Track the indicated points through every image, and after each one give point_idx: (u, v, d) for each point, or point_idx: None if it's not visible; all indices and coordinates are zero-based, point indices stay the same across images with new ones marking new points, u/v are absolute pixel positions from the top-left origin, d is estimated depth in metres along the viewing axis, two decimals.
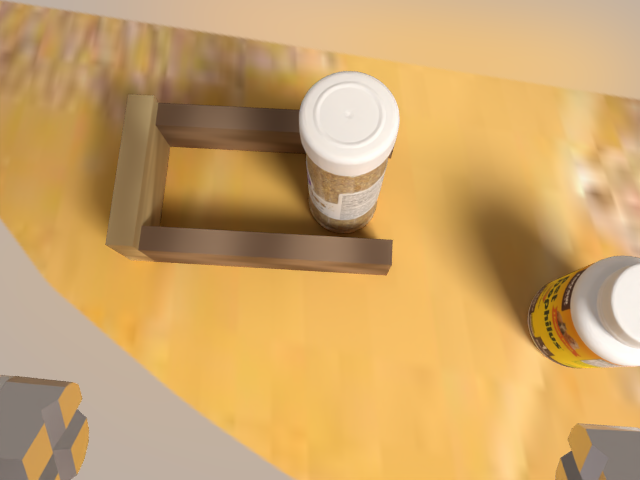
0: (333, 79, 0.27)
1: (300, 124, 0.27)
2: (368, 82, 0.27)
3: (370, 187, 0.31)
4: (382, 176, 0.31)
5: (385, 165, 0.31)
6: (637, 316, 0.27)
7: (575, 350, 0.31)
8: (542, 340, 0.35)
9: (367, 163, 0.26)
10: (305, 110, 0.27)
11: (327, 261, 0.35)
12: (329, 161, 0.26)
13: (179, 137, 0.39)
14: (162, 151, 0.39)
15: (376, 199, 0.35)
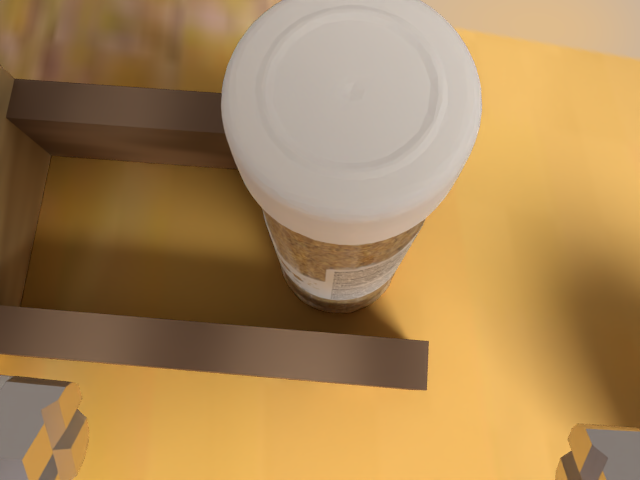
0: (313, 0, 0.10)
1: (223, 113, 0.10)
2: (403, 9, 0.10)
3: (394, 255, 0.14)
4: None
5: None
6: None
7: None
8: None
9: (396, 219, 0.10)
10: (237, 77, 0.10)
11: None
12: (297, 212, 0.10)
13: (58, 140, 0.22)
14: (28, 164, 0.23)
15: None
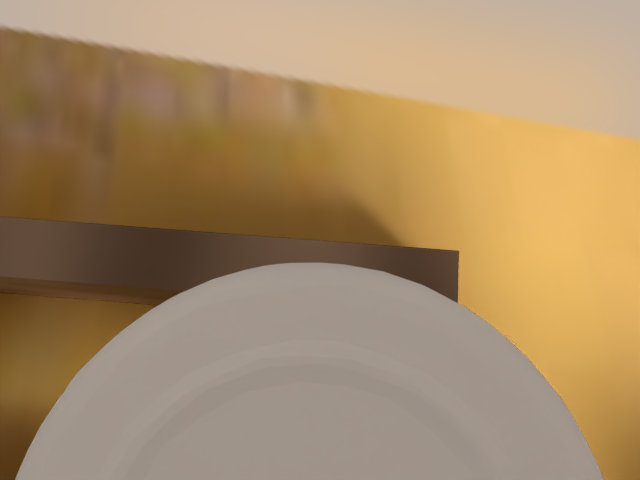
0: (218, 324, 0.04)
1: None
2: (434, 351, 0.04)
3: None
4: None
5: None
6: None
7: None
8: None
9: None
10: None
11: None
12: None
13: None
14: None
15: None
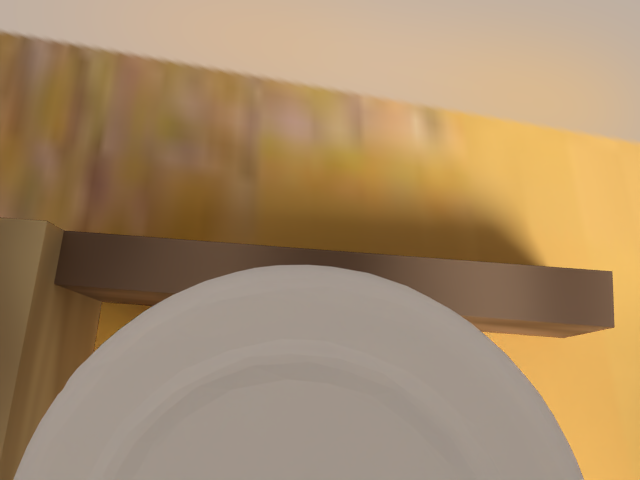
0: (208, 324, 0.05)
1: None
2: (415, 350, 0.04)
3: None
4: None
5: None
6: None
7: None
8: None
9: None
10: None
11: None
12: None
13: (116, 296, 0.18)
14: (78, 326, 0.18)
15: None
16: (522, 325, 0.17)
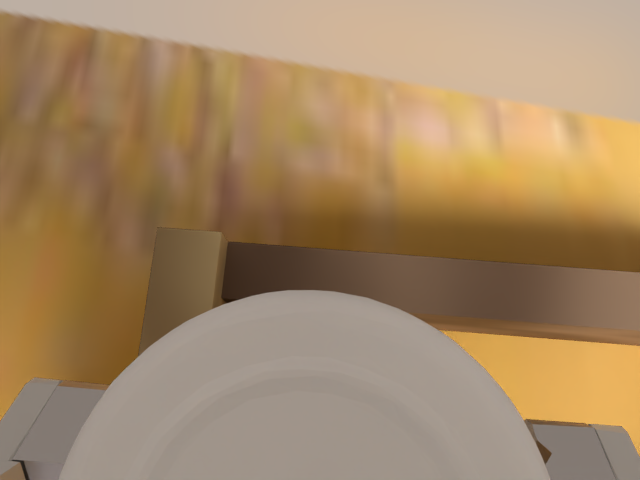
0: (229, 343, 0.05)
1: None
2: (407, 366, 0.05)
3: None
4: None
5: None
6: None
7: None
8: None
9: None
10: None
11: None
12: None
13: None
14: None
15: None
16: None
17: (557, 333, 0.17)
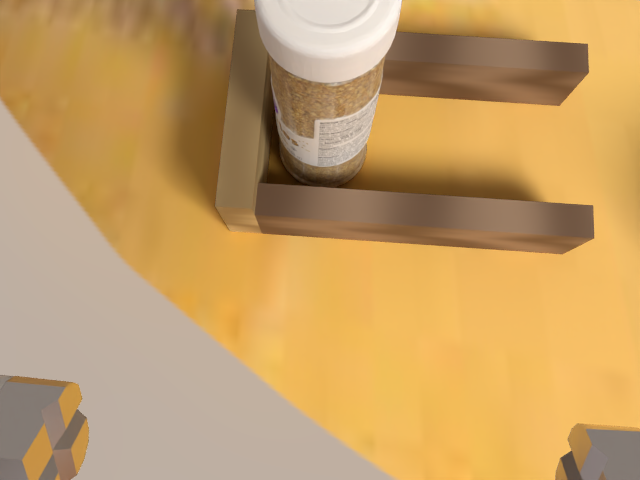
0: None
1: None
2: None
3: (358, 111, 0.22)
4: (375, 98, 0.23)
5: (379, 81, 0.22)
6: None
7: None
8: None
9: (354, 58, 0.18)
10: None
11: (507, 232, 0.26)
12: (298, 53, 0.18)
13: None
14: None
15: (366, 139, 0.27)
16: (536, 81, 0.29)
17: (458, 84, 0.30)
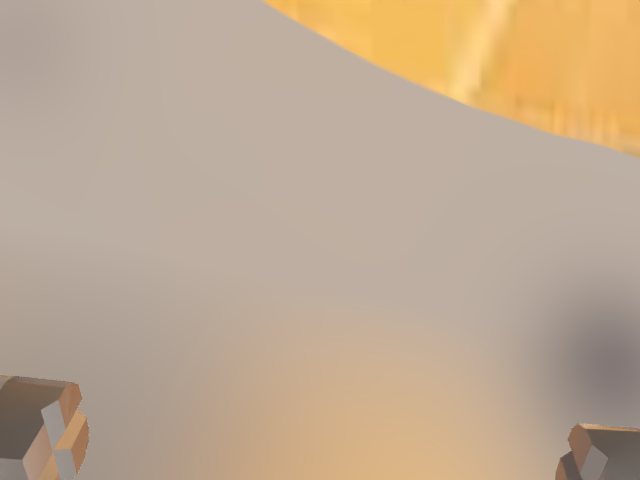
0: None
1: None
2: None
3: None
4: None
5: None
6: None
7: None
8: None
9: None
10: None
11: None
12: None
13: None
14: None
15: None
16: None
17: None
